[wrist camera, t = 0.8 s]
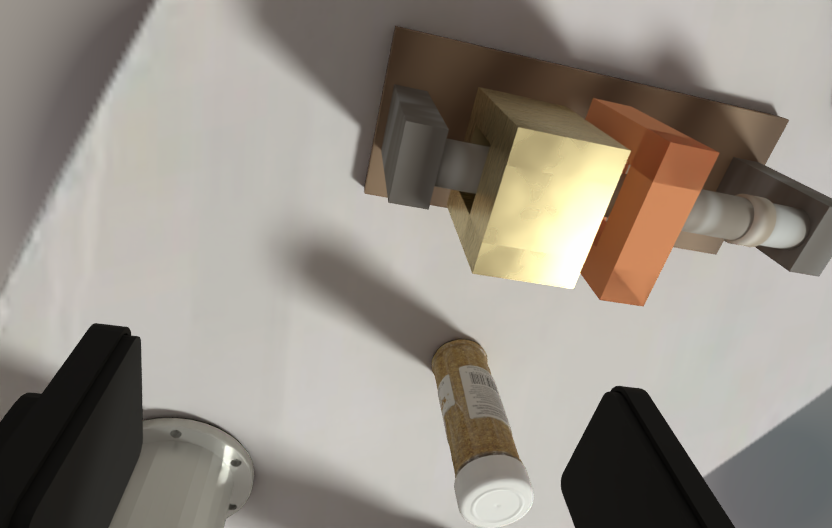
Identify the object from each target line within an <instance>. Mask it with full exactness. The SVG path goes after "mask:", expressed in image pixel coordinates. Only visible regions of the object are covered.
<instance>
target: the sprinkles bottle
mask: <svg viewBox="0 0 832 528" xmlns="http://www.w3.org/2000/svg"><path fill="white" fill-rule="evenodd" d="M432 371H433V374H434V375H435V379H436V383H437V389H438V397H439V402H440V407H441V411H442V416H443V421H444V426H445V431H446V435H447V440H448V444H449V446H450V451H451V456H452V462H453V466H454V471H455V483H454V488H455V494H456V499H457V503H458V508H459V511H460V513H461V515H462V517H463V518H464V519H465V520H466V521H467V522H469V523H471V524H473V525H475V526H478V527H484V528H496V527H502V526H505V525H508V524H511V523H513V522H515V521H517V520H519V519H520V518H522V517H523V516H524V515H525V514H526V513H527V512H528V511H529V509H530V508H531V506H532V503H533V499H534V493H533V489H532V486H531V482H530V479H529V476H528V473H527V470H526V468H525V466H524V465H523V464H522V461H521V460H520V459H519V455H518V453H517V449H516V446H515V444H514V440H513V437H512V431H511V428H510V425H509V422H508V419H507V416H506V413H505V410H504V407H503V404H502V401H501V399H500V396H499V393H498V390H497V387H496V384H495V381H494V379H493V377H492V375H491V372H490V369H489V367H488V364H487V355H486V353H485V351H484V349H483V348H482V347H481V346H480V345H479V344H476V343H475V342H473V341H469V340H455V341H451V342H448V343H445V344H444V345H443V346H441V347H440V348H439V349H438V350H437V352H436V353H435V355H434V357H433V359H432Z"/></svg>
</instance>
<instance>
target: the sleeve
mask: <svg viewBox="0 0 832 528" xmlns="http://www.w3.org/2000/svg"><path fill="white" fill-rule="evenodd" d="M464 142H467V143H472V144H477V145H482V146H487V147H490V148H489V151H488V154H487V158H486V161H485V165H484V168H483V171H482V175H481V178H480V182H479V185H478V188H477V192H476V194H474V193H468V192H463V191H457V190H452V189H451V191H450V195H449V198H448V202H447V207H448V210H449V213H450V215H451V218H452V220H453V223H454V226H455V228H456V231H457V234H458V236H459V239H460V242H461V244H462V247H463V250H464V252H465V255H466V258H467V260H468V263H469V266H470V268H471V271H472V274H478V275H485V276H492V277H498V278H505V279H512V280H518V281H525V282H531V283H538V284H545V285H551V286H558V287H565V288H571V289H573V288H574V286H575V283H576V281H577V279H578V276H579V274H580V272H581V269H582V267H583V264H584V262H585V260H586V257H587V255H588V252H589V250H590V248H591V245H592V243H593V240H594V238H595V236H596V233H597V231H598V229H599V226H600V224H601V221H602V219H603V217H604V214H605V212H606V209H607V207H608V205H609V202H610V200H611V197H612V195H613V193H614V190H615V188H616V186H617V183H618V181H619V178H620V176H621V174H622V171H623V169H624V166H625V164H626V162H627V159H628V157H629V154H630V152H631V150H629V149H628V148H626V147H625V146H623V145H622V144H620V143H619V142H618V141H616V140H615V139H613V138H612V137H610V136H609V135H607V134H606V133H604V132H603V131H601V130H600V129H598V128H597V127H596V126H594V125H593V124H591V123H590V122H588V121H587V120H585V119H584V118H582V117H581V116H579V115H578V114H577V113H575V112H574V111H572V110H571V109H569V108H568V107H566V106H563V105H558V104H554V103H549V102H545V101H540V100H535V99H531V98H526V97H522V96H517V95H513V94H508V93H504V92H499V91H495V90H490V89H486V88H481V87H478V91H477V94H476V98H475V102H474V105H473V109H472V113H471V117H470V120H469V124H468V128H467V131H466V135H465V139H464Z"/></svg>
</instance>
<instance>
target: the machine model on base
mask: <svg viewBox="0 0 832 528" xmlns="http://www.w3.org/2000/svg"><path fill="white" fill-rule="evenodd" d="M478 87H481V88H486V89H490V90H495V91H499V92H504V93H508V94H513V95H517V96H522V97H526V98H531V99H535V100H540V101H545V102H549V103H554V104H558V105H563V106H566V107H568V108H569V109H571V110H572V111H574V112H575V113H577V114H578V115H579V116H581V117H582V118H584V119H585V118H586V116H587V113H588V110H589V107H590V105H591V102H592V99H593V98H596V99H600V100H604V101H609V102H613V103H618V104H622V105H627V106H631V107H633V108H635V109H637V110H639V111H641V112H643V113H645V114H647V115H648V116H650V117H652V118H654V119H656V120H658V121H660V122H662V123H664V124H666V125H668V126H669V127H671V128H673V129H675V130H677V131H679V132H681V133H683V134H685V135H687V136H689V137H691V138H692V139H694V140H696V141H698V142H700V143H702V144H704V145H706V146H708V147H710V148H712V149H713V150H715V151H717V152H719V155H718V157H717V159H716V161H715V163H714V165H713V168H712V170H711V172H710V174H709V176H708V178H707V180H706V182H705V184H704V186H703V188H702V190H701V192H700V194H699V196H698V198H697V200H696V202H695V204H694V206H693V208H692V210H691V212H690V214H689V216H688V218H687V220H686V222H685V224H684V226H683V228H682V230H681V232H680V234H679V236H678V238H677V240H676V242H675V244H674V246H673V247H676V248H681V249H687V250H693V251H699V252H704V253H710V254H717V252H718V250H719V248H720V247H721V245H722V243H723V241H725V242H727V243H731V244H736V245H742V246H747V247H756V248H757V249H759V250H760V251H761V252H763V253H764V254H766V255H767V256H768V257H770V258H771V259H773V260H774V261H775V262H777V263H778V264H780V265H781V266H782V267H784V268H785V269H787V270H788V271H790V272H795V273H801V274H807V275H813V276H820V274H821V273H822V271H823V270H824V268H825V267H826V265H827V264H828V262H829V261H830V259H831V257H832V198H830V197H828V196H826V195H824V194H822V193H820V192H818V191H815V190H813V189H811V188H809V187H807V186H805V185H803V184H801V183H799V182H797V181H795V180H793V179H791V178H789V177H787V176H785V175H783V174H781V173H779V172H777V171H775V170H773V169H771V168H769V167H767V166H765V164H766V162H767V160H768V158H769V156H770V154H771V153H772V151H773V149H774V147H775V145H776V143H777V142H778V140H779V138H780V136H781V134H782V132H783V131H784V129H785V127H786V125H787V123H788V121H789V120H788V119H785V118H782V117H780V116H776V115H772V114H767V113H763V112H759V111H755V110H750V109H746V108H742V107H738V106H733V105H729V104H725V103H721V102H717V101H712V100H708V99H704V98H700V97H695V96H691V95H687V94H683V93H678V92H674V91H670V90H666V89H661V88H657V87H653V86H649V85H644V84H640V83H636V82H632V81H627V80H623V79H619V78H615V77H611V76H606V75H602V74H598V73H594V72H589V71H585V70H581V69H577V68H572V67H568V66H564V65H560V64H555V63H551V62H547V61H543V60H538V59H534V58H530V57H526V56H521V55H517V54H513V53H509V52H504V51H500V50H496V49H492V48H488V47H483V46H479V45H475V44H471V43H466V42H462V41H458V40H454V39H449V38H445V37H441V36H437V35H432V34H428V33H424V32H420V31H415V30H411V29H407V28H403V27H398V26H395V29H394V34H393V40H392V45H391V50H390V55H389V61H388V66H387V71H386V76H385V82H384V87H383V92H382V97H381V103H380V108H379V113H378V118H377V124H376V129H375V134H374V140H373V145H372V150H371V155H370V161H369V166H368V171H367V176H366V182H365V187H364V193H365V194H370V195H376V196H382V197H388V203H394V204H400V205H405V206H411V207H417V208H423V209H429V206H430V205H434V206H439V207H445V208H448V207H447V202H448V198H449V195H450V191H451V189H452V190H457V191H463V192H468V193H474V194H476V192H477V188H478V185H479V182H480V178H481V175H482V171H483V168H484V165H485V161H486V158H487V154H488V151H489V148H490V147H487V146H482V145H477V144H472V143H467V142H464V139H465V135H466V131H467V128H468V124H469V120H470V117H471V113H472V109H473V105H474V102H475V98H476V94H477V91H478ZM630 166H631V165H629V166H628V169H627V171H626V173H625V174H623V173H622V174H621V176H620V178H619V181H618V183H617V186H616V188H615V190H614V193H613V195H612V197H611V200H610V202H609V205H608V207H607V209H606V212H605V214H604V217H607V218H606V222H607V220H608V218H609V215H610V213H611V211H612V208H613V206H614V204H615V201H616V199H617V197H618V194H619V192H620V189H621V187H622V185H623V182H624V180H625V178H626V175H627V173H628V171H629V168H630Z"/></svg>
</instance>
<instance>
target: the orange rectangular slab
mask: <svg viewBox="0 0 832 528" xmlns="http://www.w3.org/2000/svg"><path fill="white" fill-rule="evenodd" d="M585 120H587V121H588V122H590V123H591V124H593V125H594V126H596V127H597V128H598V129H600V130H601V131H603V132H604V133H606V134H607V135H609V136H610V137H612V138H613V139H615V140H616V141H618V142H619V143H620V144H622V145H623V146H625V147H626V148H628V149H629V150H631V152H630V154H629V157H628V159H627V162H626V164H625V166H624V169H623V171H622V173H623V174H625V173H626V171H627V169H628V166H629V165H631V166H630V168H629V171H628V173H627V175H626V178H625V180H624V182H623V185H622V187H621V189H620V192H619V194H618V197H617V199H616V201H615V204H614V206H613V208H612V211H611V213H610V215H609V218H608V220H607V222H606V218H607V217H603V219H602V221H601V224H600V226H599V229H598V231H597V233H596V236H595V238H594V240H593V243H592V245H591V248H590V250H589V252H588V255H587V257H586V260H585V262H584V264H583V267H582V269H581V272H580V273H581V275H582V276H583V277H584V279H585V280H586V282H587V283H588V284H589V286H590V287H591V289H592V290H593V291H594V293H595V294H596V295H597V297H598V298H599V300H604V301H610V302H617V303H624V304H631V305H637V306H644V304H645V302H646V300H647V298H648V296H649V294H650V292H651V290H652V288H653V286H654V284H655V282H656V280H657V278H658V276H659V274H660V272H661V270H662V268H663V266H664V264H665V262H666V260H667V258H668V256H669V254H670V252H671V250H672V248H673V246H674V244H675V242H676V240H677V238H678V236H679V234H680V232H681V230H682V228H683V226H684V224H685V222H686V220H687V218H688V216H689V214H690V212H691V210H692V208H693V206H694V204H695V202H696V200H697V198H698V196H699V194H700V192H701V190H702V188H703V186H704V184H705V182H706V180H707V178H708V176H709V174H710V172H711V170H712V168H713V165H714V163H715V161H716V159H717V157H718V155H719V152H717V151H715V150H713V149H712V148H710V147H708V146H706V145H704V144H702V143H700V142H698V141H696V140H694V139H692V138H691V137H689V136H687V135H685V134H683V133H681V132H679V131H677V130H675V129H673V128H671V127H669V126H668V125H666V124H664V123H662V122H660V121H658V120H656V119H654V118H652V117H650V116H648V115H647V114H645V113H643V112H641V111H639V110H637V109H635V108H633V107H631V106H627V105H622V104H618V103H613V102H609V101H604V100H600V99H596V98H593V99H592V102H591V105H590V107H589V110H588V113H587V116H586V118H585Z"/></svg>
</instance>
